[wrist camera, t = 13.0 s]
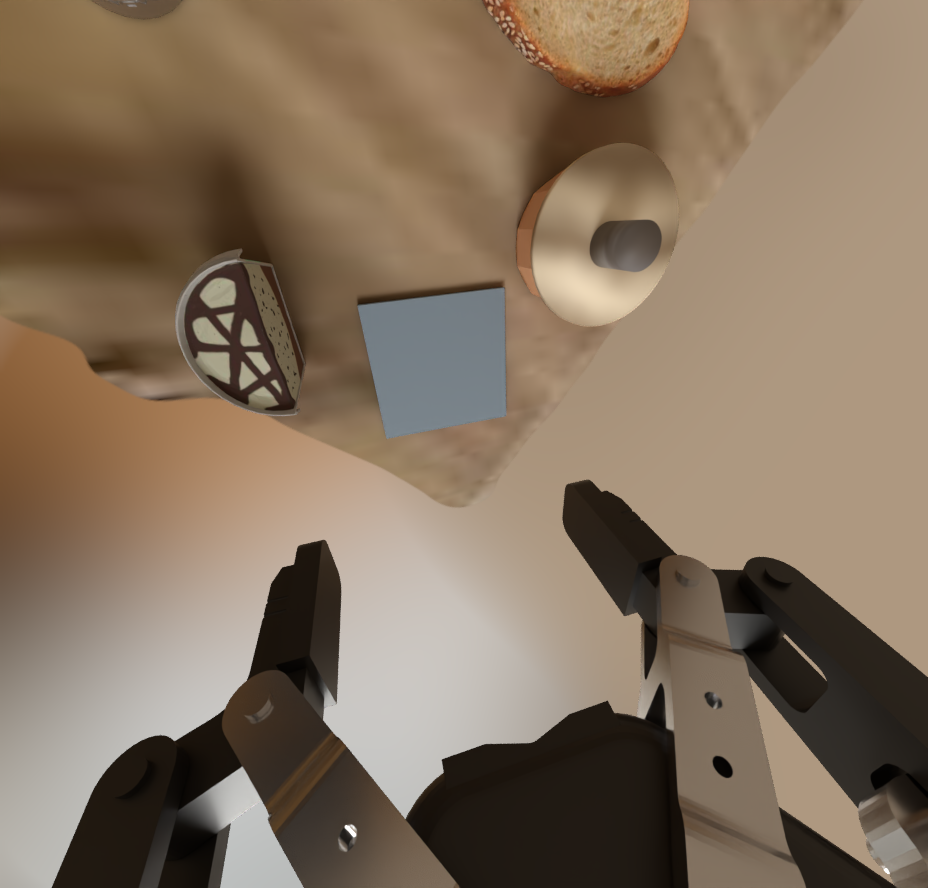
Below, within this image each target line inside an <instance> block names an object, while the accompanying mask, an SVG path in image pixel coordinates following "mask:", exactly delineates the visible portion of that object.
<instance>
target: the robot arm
mask: <svg viewBox="0 0 928 888" xmlns="http://www.w3.org/2000/svg"><path fill="white" fill-rule="evenodd" d="M92 1H93V2H95V3H97V4H98V5H100V6H102V7H103V8H105V9H107V10H109V11H112V12H115V13H117V14H120V15H123V16H125V17H131V18H138V19H150V18H158V17H161V16H163V15H165V14H167V13H169V12H171V11H173V10H174V9H175V8H176V7H177V5H178V4H179V3H180V2H181V1H182V0H92ZM563 525H564V528H565V530H566V532H567V534H568V536H569V537H570V539H571V540H572V542H573V543H574V545H575V546H576V547H577V549H578V550H579V552H580V553H581V555H582V556H583V557H584V559H585V560H586V562H587V563H588V565H589V566H590V568H591V569H592V570H593V572H594V573H595V575H596V576H597V578H598V579H599V580H600V582H601V583H602V585H603V586H604V588H605V589H606V591H607V592H608V593H609V595H610V596H611V598H612V599H613V601H614V602H615V603H616V605H617V606H618V608H619V609H620V611H621V612H622V613H623V615H624V616H627V615H630V614H634V613H637V612H638V614H639V615H640V617H641V618H642V619H643V620H642V624H641V689H640V696H639V702H638V710H637V717H636V716H632V715H628V714H620V713H614V712H613V710H612V708H611V706H610V704H609V702H608V701H606V702H603V703H600V704H597V705H595V706H592V707H589V708H586V709H583V710H580V711H577V712H575V713H572V714H569V715H568V716H567V717H565V718H564V719H563V720H562V721H561V722H559V723H558V724H557V725H555V726H554V727H553V728H552V729H551V730H549V731H548V732H547V733H545V734H544V735H543V736H542V737H541V738H539V739H538V740H537V741H535V742H533V743H521V744H484V745H481V746H479V747H476V748H473V749H470V750H467V751H465V752H462V753H459V754H456V755H453V756H450V757H448V758H445V759H442V764H443V770H444V773H443V774H441V775H440V776H439V777H438V778H436V779H435V780H434V781H433V782H432V783H431V784H430V785H429V786H428V787H427V788H426V789H425V790H424V792H423V793H422V794H421V796H420V797H419V798H418V799H417V800H416V802H415V804H414V805H413V807H412V809H411V810H410V812H409V813H408V815H407V817H406V819H404V817H403V816H402V815H401V813H400V812H399V811H398V810H397V808H396V807H395V806H394V805H393V804H392V802H391V801H390V800H389V799H388V797H387V796H386V795H385V794H384V792H383V791H382V790H381V789H380V787H379V786H378V785H377V784H376V782H375V781H374V780H373V779H372V777H371V776H370V775H369V774H368V773H367V771H366V770H365V769H364V768H363V766H362V765H361V764H360V763H359V761H357V759H356V758H355V756H354V755H353V754H352V753H351V752H350V750H349V749H348V748H347V747H346V745H345V744H344V743H343V742H342V741H341V740H340V739H339V738H338V737H336V736H335V734H333V732H332V731H331V730H330V728H329V727H328V726H327V725H326V723H325V722H324V721H323V712H324V708H326V707H330V706H333V705H336V704H337V684H338V658H339V633H340V610H341V582H340V576H339V573H338V570H337V567H336V565H335V562H334V560H333V557H332V554H331V552H330V550H329V547H328V544H327V542H326V541H325V540H321V541H317V542H312V543H308V544H303V545H300V546H298V548H297V552H296V558H295V563H294V565H291V566H287V567H283V568H282V569H281V570H280V572H279V573H278V575H277V576H276V578H275V579H274V581H273V582H272V584H271V587H270V592H269V596H268V600H267V602H268V603H267V604H266V608H265V612H264V618H263V620H262V625H261V628H260V633H259V637H258V641H257V645H256V649H255V653H254V657H253V662H252V666H251V670H250V674H249V677H248V679H247V681H246V682H245V683H244V684H243V685H242V686H240V687H239V688H238V690H237V691H236V692H235V693H234V694H233V696H232V697H231V699H230V700H229V702H228V704H227V706H226V708H225V709H224V710H223V711H222V712H221V713H219V714H218V715H217V716H215V717H214V718H212V719H211V720H209V721H207V722H206V723H204V724H202V725H201V726H199V727H197V728H196V729H194V730H192V731H191V732H189V733H188V734H186V735H184V736H183V737H181V738H179V739H178V740H176V741H173V740H172V739H171V738H169V737H167V736H162V735H160V736H153V737H149V738H147V739H145V740H142V741H140V742H138V743H137V744H135V745H133V746H132V747H131V748H129V749H128V750H126V751H125V752H124V753H123V754H122V755H120V757H118V758H117V759H116V760H115V762H113V763H112V764H111V766H110V767H109V768H108V769H107V770H106V771H105V773H104V774H103V775H102V777H101V778H100V780H99V781H98V783H97V785H96V786H95V788H94V790H93V792H92V794H91V796H90V799H89V801H88V803H87V806H86V808H85V810H84V813H83V815H82V818H81V820H80V822H79V825H78V827H77V829H76V832H75V834H74V836H73V839H72V841H71V843H70V846H69V848H68V850H67V853H66V855H65V858H64V860H63V862H62V865H61V867H60V870H59V872H58V874H57V877H56V879H55V881H54V884H53V886H52V888H220V884H221V878H222V872H223V866H224V861H225V855H226V849H227V843H228V837H229V831H230V825H231V822H233V821H234V820H235V819H237V818H238V817H239V816H241V815H242V814H243V813H245V812H246V811H247V810H249V809H250V808H251V807H253V806H254V805H256V804H257V803H258V802H260V801H261V800H262V801H263V803H264V805H265V807H266V809H267V811H268V814H269V817H268V821H269V824H270V826H271V828H272V830H273V832H274V834H275V836H276V838H277V840H278V842H279V844H280V845H281V847H282V849H283V851H284V853H285V854H286V856H287V858H288V860H289V862H290V863H291V865H292V867H293V869H294V871H295V872H296V874H297V876H298V878H299V880H300V881H301V883H302V885H303V887H304V888H928V677H927V676H925V675H924V674H923V673H922V672H921V671H919V670H918V669H917V668H916V667H915V666H913V665H912V664H911V663H910V662H909V661H907V660H906V659H905V658H904V657H903V656H901V655H900V654H899V653H898V652H896V651H895V650H894V649H893V648H892V647H890V646H889V645H888V644H887V643H886V642H884V641H883V640H882V639H881V638H879V637H878V636H877V635H876V634H875V633H873V632H872V631H871V630H870V629H868V628H867V627H866V626H865V625H864V624H862V623H861V622H860V621H859V620H857V619H856V618H855V617H854V616H853V615H851V614H850V613H849V612H848V611H847V610H845V609H844V608H843V607H842V606H841V605H839V604H838V603H837V602H836V601H834V600H833V599H832V598H831V597H829V596H828V595H827V594H826V593H825V592H823V591H822V590H821V589H820V588H819V587H817V586H816V585H815V584H814V583H812V582H811V581H810V580H809V579H808V578H806V577H805V576H804V575H803V574H802V573H800V572H799V571H798V570H796V569H795V568H793V567H792V566H790V565H788V564H786V563H784V562H781V561H779V560H776V559H773V558H767V557H755V558H752V559H750V560H749V561H747V563H746V565H745V567H744V569H743V570H715V569H710V568H709V567H707V566H706V565H705V564H703V563H702V562H700V561H698V560H696V559H694V558H691V557H688V556H683V555H677V554H676V553H674V551H673V550H671V548H670V547H669V546H668V545H667V544H666V543H664V541H662V539H661V538H660V537H659V536H658V535H657V534H656V533H655V532H654V531H653V530H652V529H651V528H650V527H649V526H648V525H647V524H646V523H645V522H644V521H643V520H642V521H641V519H640V517H639V516H638V515H637V514H636V513H635V512H632V509H631V508H630V507H629V506H628V505H627V504H626V503H625V502H624V501H623V500H622V499H621V498H619V497H617V496H615V495H614V494H612V493H610V492H608V491H603V492H601V491H600V490H599V489H598V488H597V487H596V486H595V484H594V483H593V482H591V481H590V480H584V481H579V482H575V483H571V484H567V485H566V488H565V496H564V506H563ZM784 634H786V635H787V636H788V637H789V638H790V639H791V640H792V641H793V642H794V643H795V644H796V645H797V646H798V647H799V648H800V649H801V650H802V651H803V652H804V653H805V654H806V655H807V656H808V657H809V658H810V659H811V660H812V661H813V662H814V663H815V664H816V665H817V666H818V667H819V668H820V670H821V671H822V672H823V674H824V675H825V677H826V680H827V681H826V680H825V679H824V678H823V677H822V676H821V675H820V674H819V673H818V672H817V671H816V670H815V669H814V668H813V667H812V666H811V665H810V664H809V663H808V662H807V661H806V660H805V659H804V658H803V657H802V656H801V655H800V654H799V653H798V651H797V650H796V649H795V648H793V646H792V645H790V643H789V642H788V641H787V640H786V639H784V637H783V636H784ZM749 676H750V677H751V678H752V680H753V681H754V682H755V683H756V684H757V686H758V687H759V688H760V689H761V690H762V692H763V693H764V694H765V695H766V697H767V698H768V699H769V700H770V701H771V703H772V704H773V705H774V706H775V708H776V709H777V710H778V711H779V713H780V714H781V715H782V716H783V717H784V719H785V720H786V721H787V722H788V723H789V725H790V726H791V727H792V728H793V729H794V731H795V732H796V733H797V734H798V736H799V737H800V738H801V739H802V741H803V742H804V743H805V744H806V745H807V747H808V748H809V749H810V750H811V752H812V753H813V754H814V755H815V756H816V758H817V759H818V760H819V761H820V762H821V764H822V765H823V766H824V767H825V769H826V770H827V771H828V772H829V773H830V775H831V776H832V777H833V778H834V780H835V781H836V782H837V783H838V784H839V786H840V787H841V788H842V789H843V790H844V792H845V793H846V794H847V795H848V797H849V798H850V799H851V800H852V801H853V803H854V804H855V805H856V806H857V808H858V813H859V820H860V823H861V826H862V829H863V831H864V833H865V835H866V837H867V839H866V845H867V848H868V850H869V852H870V854H871V856H872V857H873V859H874V860H875V861H876V863H877V864H878V865H879V866H880V867H881V868H882V869H883V870H885V871H886V872H887V873H889V874H890V877H891V879H892V881H893V883H894V885H893V884H891V883H890V882H889V881H887V880H886V879H884V878H883V877H881V876H880V875H878V874H877V873H875V872H874V871H872V870H871V869H870V868H868V867H867V866H865V865H864V864H862V863H861V862H859V861H858V860H856V859H855V858H853V857H852V856H850V855H849V854H847V853H846V852H845V851H843V850H842V849H840V848H839V847H837V846H836V845H834V844H833V843H831V842H830V841H828V840H827V839H825V838H824V837H823V836H821V835H820V834H818V833H817V832H815V831H814V830H812V829H811V828H809V827H808V826H806V825H805V824H803V823H802V822H800V821H799V820H797V819H796V818H795V817H793V816H791V815H790V814H788V813H787V812H786V811H784V810H783V809H781V808H780V807H778V802H777V798H776V793H775V789H774V784H773V780H772V776H771V771H770V767H769V762H768V758H767V753H766V748H765V744H764V740H763V735H762V731H761V726H760V722H759V717H758V713H757V708H756V704H755V699H754V695H753V690H752V686H751V682H750V677H749Z"/></svg>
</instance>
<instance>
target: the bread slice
mask: <svg viewBox="0 0 928 888" xmlns="http://www.w3.org/2000/svg"><path fill="white" fill-rule="evenodd" d="M482 1H483V4H484V5H485V7H486V9H487V11H488V12H489V13H490V14H491V15H492V17H493V18H494V20H495V21H496V22H497V24H498V26H499V28H500V29H501V31H502V32H503V33H504V34H505V35H506V36H507V37H508V38H509V40H510V41H511V42H512V43H513V45H514V46H515V47H516V49H517V50H519V51H520V52H521V53H522V54H523V56H524V57H525V59H526V60H527V61H528V62H529V63H531V64H533V65H535V66H537V67H539V68H541V69H544V70H546V71H548V72H549V73H550V74H552V76H553V77H554V78H555V79H556V81H557V82H558V83H560V84H561V85H563V86H566V87H569V88H571V89H573V90H574V91H576V92H581V93H585V94H589V95H593V96H597V97H610V96H617V95H622V94H626V93H629V92H632V91H635V90H637V89H638V88H640V87H642V86H643V85H645V84H646V83H647V82H649V81H650V80H651V79H652V78H654V77H655V76H656V75H657V74H658V73H659V72H660V71H661V70H662V68H663V67H664V66H665V65H666V64H667V63H668V61H669V60H670V58H671V57H672V55H673V54H674V52H675V50H676V48H677V45H678V43H679V41H680V39H681V38H682V35H683V33H684V30H685V27H686V24H687V20H688V11H689V0H482Z"/></svg>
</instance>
